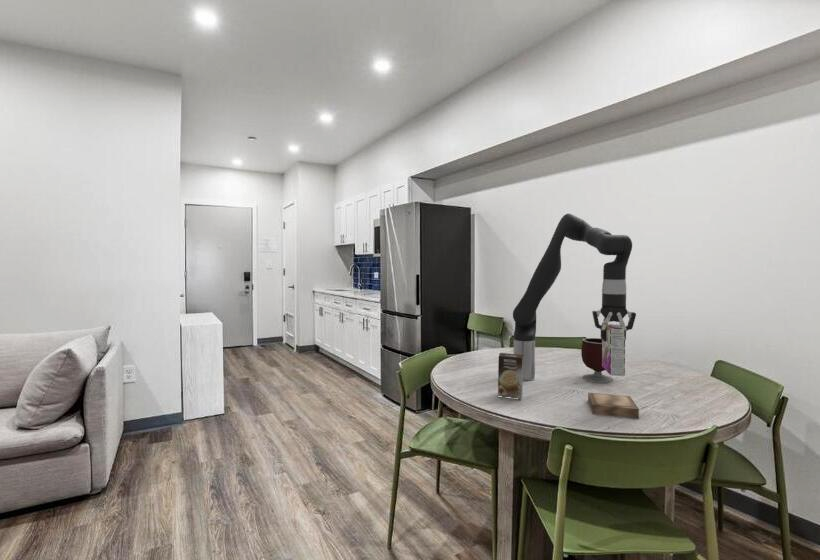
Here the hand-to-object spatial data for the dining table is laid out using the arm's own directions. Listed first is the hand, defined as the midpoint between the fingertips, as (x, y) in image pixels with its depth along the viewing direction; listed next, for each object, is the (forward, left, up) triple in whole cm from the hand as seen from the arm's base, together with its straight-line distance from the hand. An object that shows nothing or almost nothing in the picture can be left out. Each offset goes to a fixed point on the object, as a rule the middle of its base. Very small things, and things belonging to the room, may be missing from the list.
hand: (613, 340), depth 144 cm
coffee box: (-35, +3, -24) cm, 43 cm away
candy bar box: (0, 0, -11) cm, 11 cm away
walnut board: (0, 0, -24) cm, 24 cm away
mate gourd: (+1, +39, -24) cm, 46 cm away
